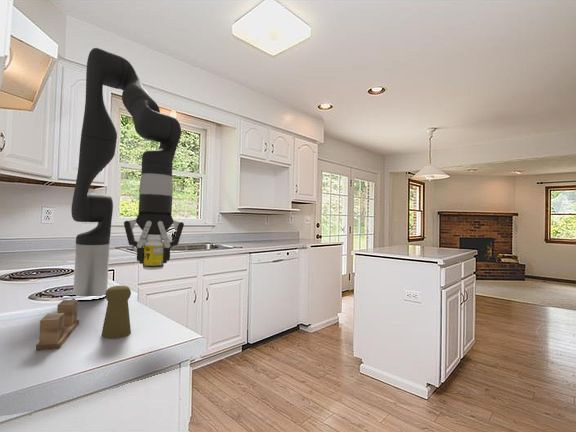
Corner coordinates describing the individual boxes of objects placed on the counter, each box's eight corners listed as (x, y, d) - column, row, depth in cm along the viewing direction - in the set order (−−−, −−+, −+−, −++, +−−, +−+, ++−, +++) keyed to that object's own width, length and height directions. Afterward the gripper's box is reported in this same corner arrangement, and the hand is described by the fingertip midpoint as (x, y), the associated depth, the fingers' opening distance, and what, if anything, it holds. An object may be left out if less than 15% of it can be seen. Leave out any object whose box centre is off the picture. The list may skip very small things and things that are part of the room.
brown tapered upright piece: (118, 340, 70) (120, 290, 70) (94, 336, 71) (97, 288, 71) (136, 330, 76) (138, 285, 76) (114, 327, 77) (116, 282, 77)
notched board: (59, 324, 77) (60, 300, 77) (78, 323, 78) (80, 299, 78) (35, 350, 63) (37, 320, 63) (59, 348, 64) (60, 319, 64)
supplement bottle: (139, 267, 78) (140, 233, 78) (158, 266, 81) (160, 233, 81) (147, 270, 74) (148, 234, 74) (166, 268, 77) (168, 234, 78)
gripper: (185, 196, 84) (183, 260, 84) (125, 193, 79) (123, 261, 79) (187, 194, 77) (184, 264, 77) (121, 190, 72) (118, 265, 72)
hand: (153, 262), depth 78 cm, fingers closed on supplement bottle, 4 cm apart
